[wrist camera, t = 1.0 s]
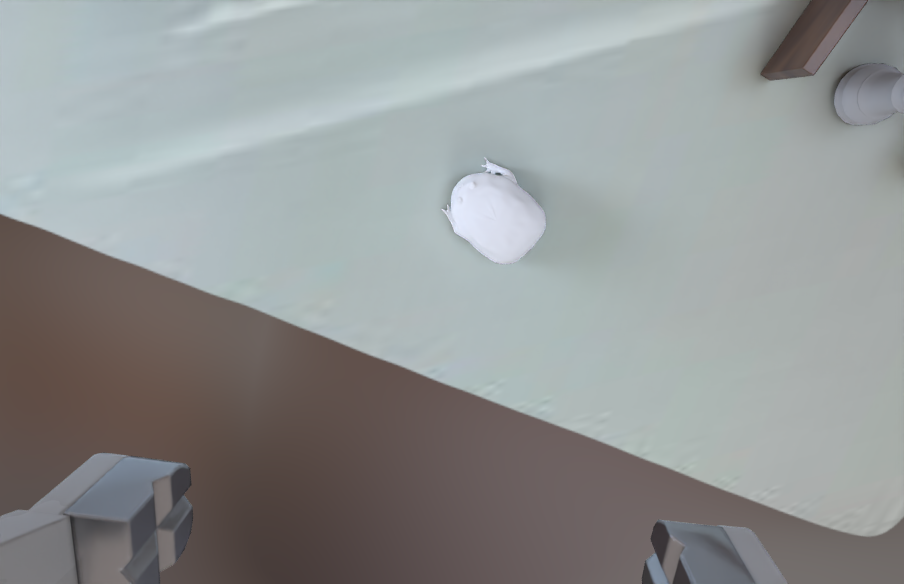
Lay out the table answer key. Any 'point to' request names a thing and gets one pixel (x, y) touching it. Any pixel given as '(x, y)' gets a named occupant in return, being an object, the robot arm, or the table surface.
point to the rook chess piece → (870, 94)
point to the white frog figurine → (496, 215)
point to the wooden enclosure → (812, 38)
